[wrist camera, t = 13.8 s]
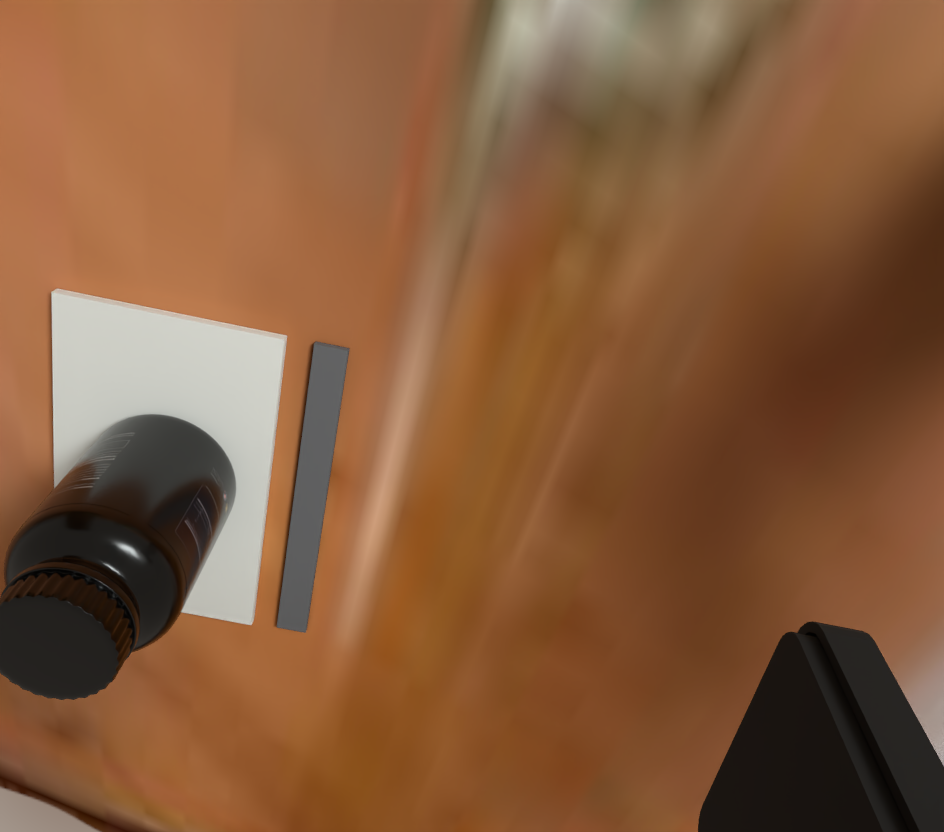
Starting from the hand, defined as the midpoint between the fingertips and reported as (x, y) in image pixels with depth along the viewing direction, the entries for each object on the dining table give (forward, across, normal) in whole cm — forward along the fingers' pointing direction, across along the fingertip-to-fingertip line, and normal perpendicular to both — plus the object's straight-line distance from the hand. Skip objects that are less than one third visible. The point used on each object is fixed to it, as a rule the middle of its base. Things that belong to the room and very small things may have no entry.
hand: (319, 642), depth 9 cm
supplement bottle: (+28, +11, +17) cm, 34 cm away
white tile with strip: (+28, +10, +17) cm, 34 cm away
